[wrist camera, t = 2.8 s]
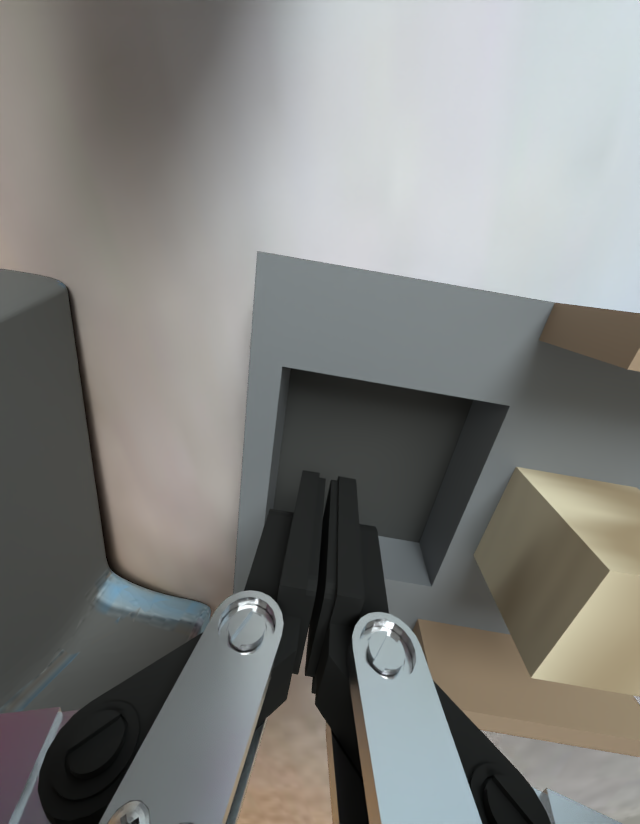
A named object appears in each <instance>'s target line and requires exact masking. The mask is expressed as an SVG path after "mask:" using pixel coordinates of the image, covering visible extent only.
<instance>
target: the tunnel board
mask: <svg viewBox="0 0 640 824" xmlns="http://www.w3.org/2000/svg"><path fill="white" fill-rule="evenodd" d="M516 467H521V468H527V469H532V470H538V471H544V472H550V473H555V474H561V475H567V476H573V477H579V478H584V479H590V480H596V481H602V482H608V483H613V484H619V485H625V486H631V487H636V488H638V489H639V490H640V313H632V312H624V311H616V310H608V309H600V308H593V307H585V306H577V305H569V304H561V303H554V302H548V301H542V300H536V299H531V298H525V297H519V296H513V295H508V294H502V293H496V292H490V291H484V290H479V289H473V288H467V287H461V286H456V285H450V284H444V283H438V282H433V281H427V280H421V279H415V278H409V277H404V276H398V275H392V274H386V273H381V272H375V271H369V270H363V269H357V268H352V267H346V266H340V265H334V264H329V263H323V262H317V261H311V260H306V259H300V258H294V257H288V256H282V255H277V254H271V253H265V252H259V251H257V263H256V277H255V291H254V305H253V319H252V334H251V348H250V362H249V376H248V390H247V405H246V419H245V433H244V447H243V461H242V476H241V490H240V504H239V518H238V532H237V547H236V561H235V575H234V589H233V595H234V594H236V593H238V592H241V591H244V589H245V586H246V583H247V579H248V576H249V573H250V570H251V567H252V563H253V560H254V557H255V554H256V551H257V547H258V544H259V541H260V538H261V535H262V531H263V528H264V525H265V522H266V518H267V515H268V512H269V510H270V509H275V510H281V511H287V512H293V513H294V510H295V505H296V500H297V496H298V491H299V486H300V481H301V476H302V471H303V470H306V471H312V472H318V473H320V476H319V478H325V479H326V483H325V496H324V508H323V515H324V510H325V505H326V500H327V496H328V491H329V486H330V481H331V480H337V479H338V476H341V477H347V478H353V479H356V483H357V498H358V512H359V524H363V525H369V526H375V527H376V528H377V532H378V538H379V545H380V552H381V559H382V566H383V573H384V581H385V588H386V595H387V602H388V609H389V614H391V615H393V616H395V617H397V618H399V619H400V620H401V621H403V622H404V623H405V624H406V625H408V627H409V628H410V629H411V630H412V632H413V633H414V634H415V635H416V637H417V639H418V641H419V643H420V645H421V648H422V650H423V653H424V656H425V659H426V662H427V665H428V668H429V671H430V674H431V677H432V679H433V680H434V681H435V683H436V684H437V685H438V686H439V687H440V688H441V689H442V690H443V691H444V692H445V693H446V694H447V695H448V696H449V697H450V699H451V700H452V701H453V702H454V703H455V704H456V705H457V706H458V707H459V708H460V709H461V710H462V711H463V712H464V713H465V715H466V716H467V717H468V718H469V719H470V720H471V721H472V722H473V723H474V724H475V725H476V726H477V727H478V728H479V729H480V730H485V731H490V732H496V733H502V734H508V735H514V736H520V737H525V738H531V739H537V740H543V741H549V742H555V743H560V744H566V745H572V746H578V747H584V748H590V749H595V750H601V751H607V752H613V753H619V754H625V755H630V756H636V757H640V705H639V704H638V702H637V701H636V699H635V698H634V696H633V695H627V694H622V693H616V692H610V691H604V690H598V689H592V688H587V687H581V686H575V685H569V684H563V683H558V682H552V681H546V680H540V679H534V678H531V677H530V675H529V673H528V671H527V669H526V667H525V664H524V662H523V660H522V658H521V656H520V654H519V652H518V649H517V647H516V645H515V643H514V641H513V639H512V637H511V634H510V632H509V630H508V628H507V626H506V624H505V622H504V619H503V617H502V615H501V613H500V611H499V609H498V607H497V604H496V602H495V600H494V598H493V596H492V594H491V592H490V589H489V587H488V585H487V583H486V581H485V579H484V577H483V574H482V572H481V570H480V568H479V566H478V564H477V562H476V559H475V557H474V553H475V551H476V549H477V547H478V545H479V543H480V541H481V538H482V536H483V534H484V532H485V530H486V528H487V526H488V524H489V522H490V520H491V518H492V516H493V514H494V512H495V509H496V507H497V505H498V503H499V501H500V499H501V497H502V495H503V493H504V491H505V489H506V487H507V485H508V482H509V480H510V478H511V476H512V474H513V472H514V470H515V468H516Z"/></svg>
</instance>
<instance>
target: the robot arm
mask: <svg viewBox="0 0 640 824" xmlns="http://www.w3.org/2000/svg"><path fill="white" fill-rule="evenodd" d="M319 476H320V473H318V472H312V471H306V470H303V471H302V476H301V481H300V486H299V491H298V496H297V500H296V505H295V510H294V513H293V512H287V511H281V510H275V509H270V510H269V512H268V515H267V518H266V522H265V525H264V528H263V531H262V535H261V538H260V541H259V544H258V547H257V551H256V554H255V557H254V560H253V563H252V567H251V570H250V573H249V576H248V579H247V583H246V586H245V589H244V591H241V592H238V593H236V594H234V595H231V596H229V597H228V598H227V599H226V600H224V601H223V602H222V603H221V604H220V605H219V607H218V608H217V609H216V611H215V612H214V614H213V616H212V617H211V619H210V621H209V623H208V625H207V626H206V628H205V630H204V632H202V633H201V634H199V635H197V636H196V637H194V638H193V639H191V640H189V641H188V642H186V643H185V644H183V645H181V646H180V647H178V648H176V649H175V650H173V651H172V652H170V653H168V654H167V655H165V656H164V657H162V658H160V659H159V660H157V661H155V662H154V663H152V664H151V665H149V666H147V667H146V668H144V669H143V670H141V671H139V672H138V673H136V674H134V675H133V676H131V677H130V678H128V679H126V680H125V681H123V682H122V683H120V684H118V685H117V686H115V687H114V688H112V689H110V690H109V691H107V692H105V693H104V694H102V695H101V696H99V697H97V698H96V699H94V700H93V701H91V702H89V703H88V704H87V705H86V706H84V707H83V708H82V709H80V710H73V711H65V712H62V711H61V708H60V707H53V708H45V709H37V710H29V711H20V712H12V713H4V714H0V824H237V822H238V818H239V815H240V812H241V808H242V805H243V801H244V798H245V794H246V791H247V787H248V784H249V780H250V777H251V774H252V770H253V767H254V763H255V760H256V756H257V753H258V749H259V746H260V743H261V739H262V736H263V732H264V729H265V725H266V722H267V717H268V716H269V715H270V714H271V713H272V712H273V711H275V710H276V709H277V708H278V707H279V706H280V705H281V704H282V703H283V702H284V701H285V700H286V699H287V695H288V690H289V685H290V680H291V676H292V673H293V674H298V673H299V668H300V664H301V659H302V655H303V650H304V646H305V641H306V637H307V632H308V628H309V634H308V644H307V655H306V666H305V676H310V677H313V680H312V693H314V694H316V697H315V705H316V706H317V708H318V710H319V711H320V713H321V714H322V716H323V717H324V719H325V720H326V742H327V755H328V768H329V781H330V795H331V808H332V821H333V824H622V823H620V822H618V821H616V820H614V819H612V818H609V817H607V816H605V815H603V814H601V813H599V812H597V811H595V810H592V809H590V808H588V807H586V806H584V805H582V804H580V803H578V802H575V801H573V800H571V799H569V798H567V797H565V796H563V795H560V794H558V793H556V792H554V791H552V790H550V789H548V788H546V789H545V790H544V791H543V792H541V791H539V790H537V789H535V788H533V787H531V786H530V784H529V783H528V782H527V781H526V779H525V778H524V777H523V776H522V774H521V773H520V772H519V771H518V770H517V769H516V768H515V767H514V766H513V765H512V764H511V763H510V761H509V760H508V759H507V758H506V757H505V756H504V755H503V754H502V753H501V752H500V751H499V750H498V749H497V748H496V747H495V745H494V744H493V743H492V742H491V741H490V740H489V739H488V738H487V737H486V736H485V735H484V734H483V733H482V732H481V731H480V729H479V728H478V727H477V726H476V725H475V724H474V723H473V722H472V721H471V720H470V719H469V718H468V717H467V716H466V715H465V713H464V712H463V711H462V710H461V709H460V708H459V707H458V706H457V705H456V704H455V703H454V702H453V701H452V700H451V699H450V697H449V696H448V695H447V694H446V693H445V692H444V691H443V690H442V689H441V688H440V687H439V686H438V685H437V684H436V683H435V681H434V680H433V679H432V677H431V674H430V671H429V668H428V665H427V662H426V659H425V656H424V653H423V650H422V648H421V645H420V643H419V641H418V639H417V637H416V635H415V634H414V633H413V632H412V630H411V629H410V628H409V627H408V625H406V624H405V623H404V622H403V621H401V620H400V619H399V618H397V617H395V616H393V615H391V614H389V609H388V602H387V595H386V588H385V581H384V573H383V566H382V559H381V552H380V545H379V538H378V532H377V528H376V527H375V526H369V525H363V524H359V512H358V498H357V483H356V479H353V478H347V477H341V476H338V479H337V480H331V481H330V486H329V491H328V496H327V500H326V505H325V510H324V515H323V508H324V496H325V483H326V479H325V478H319Z"/></svg>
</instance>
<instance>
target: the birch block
mask: <svg viewBox="0 0 640 824" xmlns="http://www.w3.org/2000/svg"><path fill="white" fill-rule="evenodd" d="M474 557H475V559H476V562H477V564H478V566H479V568H480V570H481V572H482V574H483V577H484V579H485V581H486V583H487V585H488V587H489V589H490V592H491V594H492V596H493V598H494V600H495V602H496V604H497V607H498V609H499V611H500V613H501V615H502V617H503V619H504V622H505V624H506V626H507V628H508V630H509V632H510V634H511V637H512V639H513V641H514V643H515V645H516V647H517V649H518V652H519V654H520V656H521V658H522V660H523V662H524V664H525V667H526V669H527V671H528V673H529V675H530V677H531V678H534V679H540V680H546V681H552V682H558V683H563V684H569V685H575V686H581V687H587V688H592V689H598V690H604V691H610V692H616V693H622V694H627V695H633V696H639V697H640V490H639V489H638V488H636V487H631V486H625V485H619V484H613V483H608V482H602V481H596V480H590V479H584V478H579V477H573V476H567V475H561V474H555V473H550V472H544V471H538V470H532V469H527V468H521V467H516V468H515V470H514V472H513V474H512V476H511V478H510V480H509V482H508V485H507V487H506V489H505V491H504V493H503V495H502V497H501V499H500V501H499V503H498V505H497V507H496V509H495V512H494V514H493V516H492V518H491V520H490V522H489V524H488V526H487V528H486V530H485V532H484V534H483V536H482V538H481V541H480V543H479V545H478V547H477V549H476V551H475V553H474Z"/></svg>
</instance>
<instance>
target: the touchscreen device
mask: <svg viewBox="0 0 640 824" xmlns="http://www.w3.org/2000/svg"><path fill="white" fill-rule="evenodd" d="M210 614H211V609H210V608H209V606H207V605H205V604H203V603H200V602H197V601H193V600H188V599H184V598H179V597H174V596H170V595H166V594H162V593H159V592H155V591H152V590H149V589H146V588H144V587H141V586H138V585H136V584H134V583H131V582H129V581H127V580H125V579H123V578H121V577H119V576H118V575H116V574H115V573H114V572H113V571H112V570H111V569H110V568H109V566H108V563H107V559H106V554H105V547H104V540H103V533H102V526H101V519H100V512H99V505H98V498H97V491H96V485H95V478H94V471H93V464H92V457H91V450H90V443H89V436H88V429H87V422H86V415H85V408H84V401H83V395H82V388H81V381H80V374H79V367H78V360H77V353H76V346H75V339H74V332H73V325H72V318H71V311H70V304H69V298H68V291H67V288H66V286H65V285H64V284H63V283H62V282H60V281H59V280H56V279H53V278H50V277H45V276H41V275H36V274H30V273H25V272H19V271H12V270H5V269H0V714H4V713H12V712H20V711H29V710H37V709H45V708H53V707H60V708H61V711H62V712H65V711H73V710H80V709H82V708H83V707H84V706H86V705H87V704H88V703H89V702H91V701H93V700H94V699H96V698H97V697H99V696H101V695H102V694H104V693H105V692H107V691H109V690H110V689H112V688H114V687H115V686H117V685H118V684H120V683H122V682H123V681H125V680H126V679H128V678H130V677H131V676H133V675H134V674H136V673H138V672H139V671H141V670H143V669H144V668H146V667H147V666H149V665H151V664H152V663H154V662H155V661H157V660H159V659H160V658H162V657H164V656H165V655H167V654H168V653H170V652H172V651H173V650H175V649H176V648H178V647H180V646H181V645H183V644H185V643H186V642H188V641H189V640H191V639H193V638H194V637H196V636H197V635H199V634H201V633H202V632H204V630H205V628H206V626H207V625H208V623H209V620H210Z"/></svg>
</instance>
